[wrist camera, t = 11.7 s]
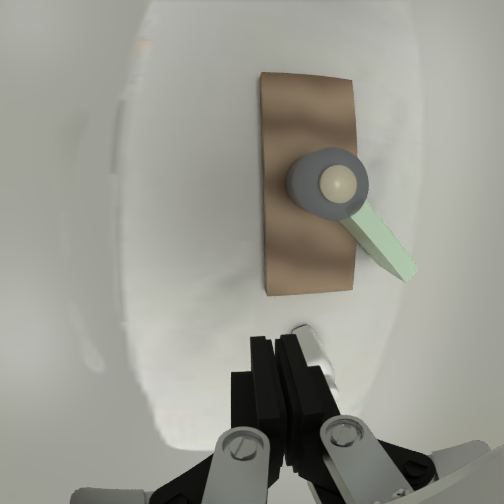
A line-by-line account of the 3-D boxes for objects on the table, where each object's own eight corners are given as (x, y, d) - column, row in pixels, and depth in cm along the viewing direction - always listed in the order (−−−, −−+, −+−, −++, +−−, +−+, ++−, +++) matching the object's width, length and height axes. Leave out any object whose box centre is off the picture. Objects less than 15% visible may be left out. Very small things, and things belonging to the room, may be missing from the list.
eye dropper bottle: (326, 325, 34) (361, 384, 22) (314, 360, 35) (341, 422, 24) (293, 322, 33) (319, 385, 22) (284, 358, 35) (302, 425, 23)
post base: (259, 78, 26) (261, 71, 24) (345, 85, 27) (352, 79, 24) (265, 289, 32) (267, 297, 30) (346, 284, 33) (353, 290, 30)
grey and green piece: (273, 183, 27) (286, 184, 20) (312, 142, 26) (337, 130, 19) (366, 277, 30) (396, 301, 23) (399, 239, 29) (435, 255, 22)
